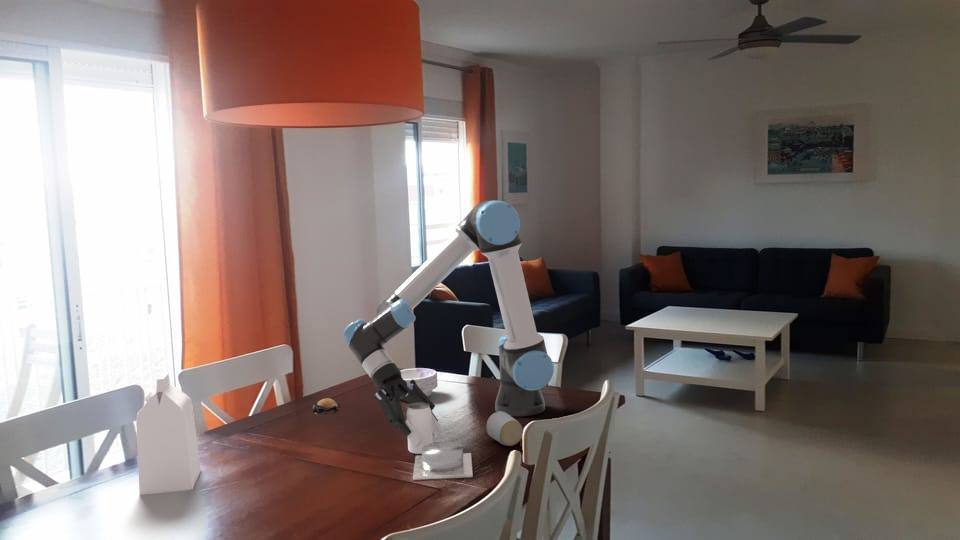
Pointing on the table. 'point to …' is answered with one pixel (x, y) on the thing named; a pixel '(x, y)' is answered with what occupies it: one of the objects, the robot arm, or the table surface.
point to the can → (420, 425)
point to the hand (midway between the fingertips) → (429, 439)
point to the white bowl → (421, 378)
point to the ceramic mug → (504, 428)
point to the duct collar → (442, 462)
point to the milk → (167, 441)
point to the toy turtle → (326, 406)
